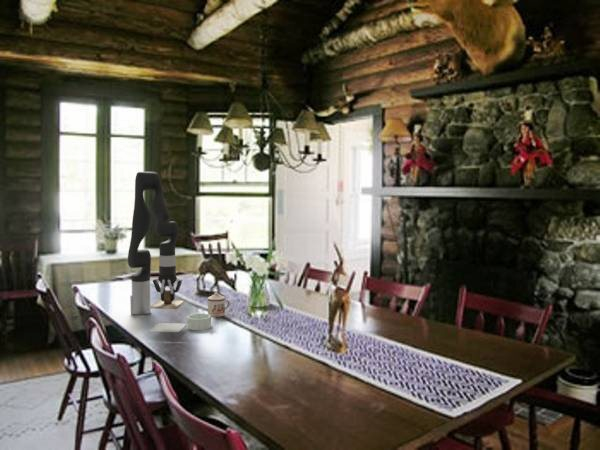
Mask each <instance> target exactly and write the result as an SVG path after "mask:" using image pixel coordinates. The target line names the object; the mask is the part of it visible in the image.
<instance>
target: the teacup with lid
mask: <svg viewBox="0 0 600 450" xmlns="http://www.w3.org/2000/svg"><path fill="white" fill-rule="evenodd" d="M206 299H207V314H209V315H211V318H212V317H213V318H215V317H216V318H219V317H224V316H225V315H226V310H227V309H228V308H230V305H231V304H230V300H228V299H226V297H225V296H224V295H221V294H219V292H214V294H212V295H211V296H208V297H207V298H206ZM226 302H227V305H226Z"/></svg>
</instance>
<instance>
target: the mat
mask: <svg viewBox="0 0 600 450" xmlns="http://www.w3.org/2000/svg"><path fill="white" fill-rule="evenodd" d="M186 326H187V323H179V322H178V323H176V322H175V323H174V322H173V323H171V322H158V323H157V324H155V325H154V326H153V327H152V328H151V329H149V330H148V332H163V333H166V332H167V333H179V332H180V331H182V330H183V328H184V327H186Z"/></svg>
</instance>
